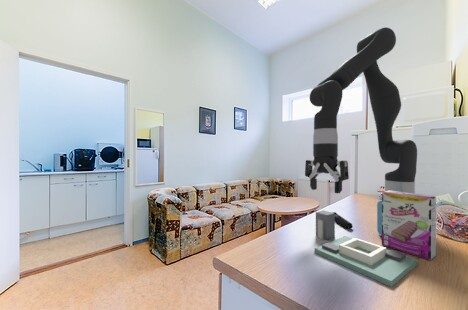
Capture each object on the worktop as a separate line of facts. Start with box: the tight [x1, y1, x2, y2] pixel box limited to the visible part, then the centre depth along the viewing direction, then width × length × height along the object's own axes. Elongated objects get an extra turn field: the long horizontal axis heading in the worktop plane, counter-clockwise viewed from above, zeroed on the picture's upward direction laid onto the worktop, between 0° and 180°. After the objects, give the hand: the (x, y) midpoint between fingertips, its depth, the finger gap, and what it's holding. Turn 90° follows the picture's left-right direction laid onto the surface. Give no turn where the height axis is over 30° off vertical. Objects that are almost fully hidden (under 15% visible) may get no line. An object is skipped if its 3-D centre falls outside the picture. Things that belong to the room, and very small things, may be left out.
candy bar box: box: [381, 190, 437, 261], centre depth 58 cm, size 11×5×16 cm, turn 34°
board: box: [314, 235, 418, 288], centre depth 54 cm, size 16×18×3 cm
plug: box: [315, 210, 336, 241], centre depth 68 cm, size 5×4×8 cm
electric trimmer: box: [331, 211, 354, 229], centre depth 82 cm, size 4×16×3 cm, turn 177°
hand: (325, 191), depth 68 cm, fingers open, 8 cm apart
